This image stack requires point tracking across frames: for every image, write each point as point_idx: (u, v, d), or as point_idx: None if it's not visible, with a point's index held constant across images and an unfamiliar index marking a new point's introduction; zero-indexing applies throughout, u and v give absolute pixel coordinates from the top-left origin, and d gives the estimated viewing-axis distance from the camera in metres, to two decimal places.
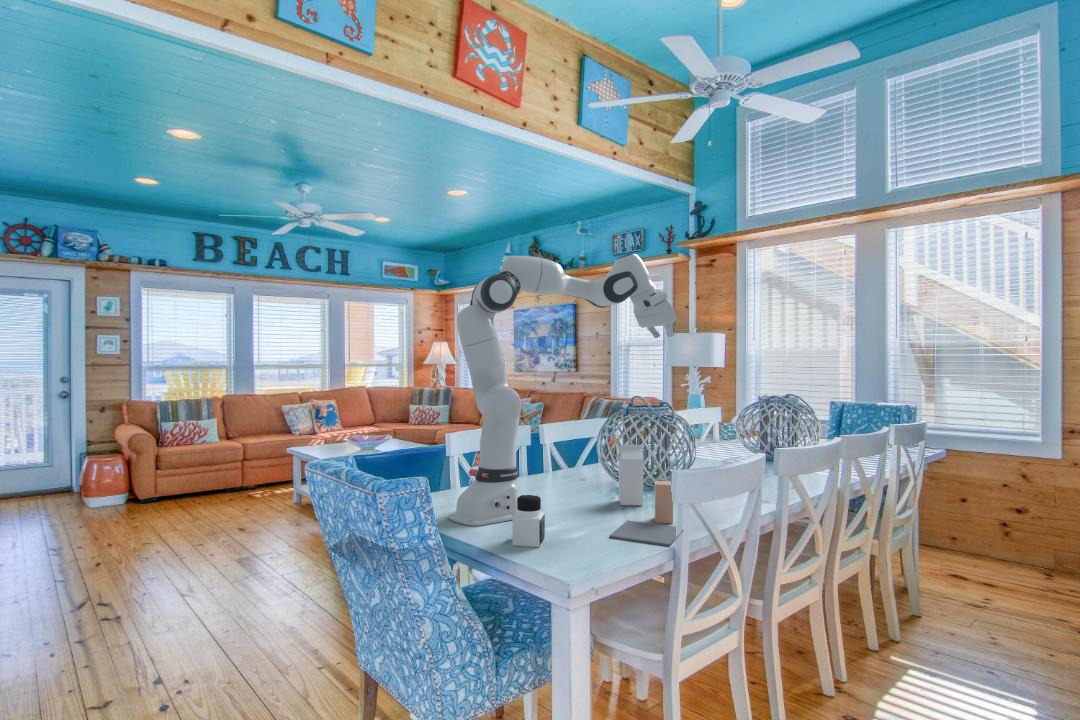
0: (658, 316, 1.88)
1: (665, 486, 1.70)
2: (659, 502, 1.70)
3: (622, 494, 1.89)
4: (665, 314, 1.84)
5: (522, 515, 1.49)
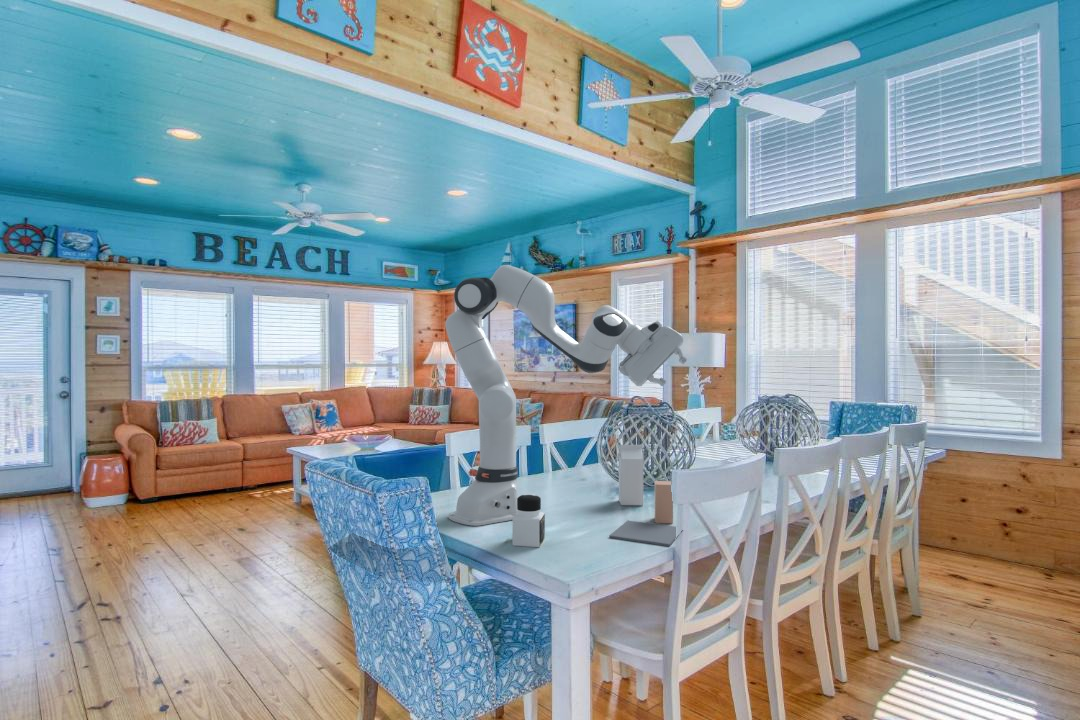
0: (667, 339, 1.75)
1: (665, 486, 1.70)
2: (659, 502, 1.70)
3: (622, 494, 1.89)
4: None
5: (522, 515, 1.49)
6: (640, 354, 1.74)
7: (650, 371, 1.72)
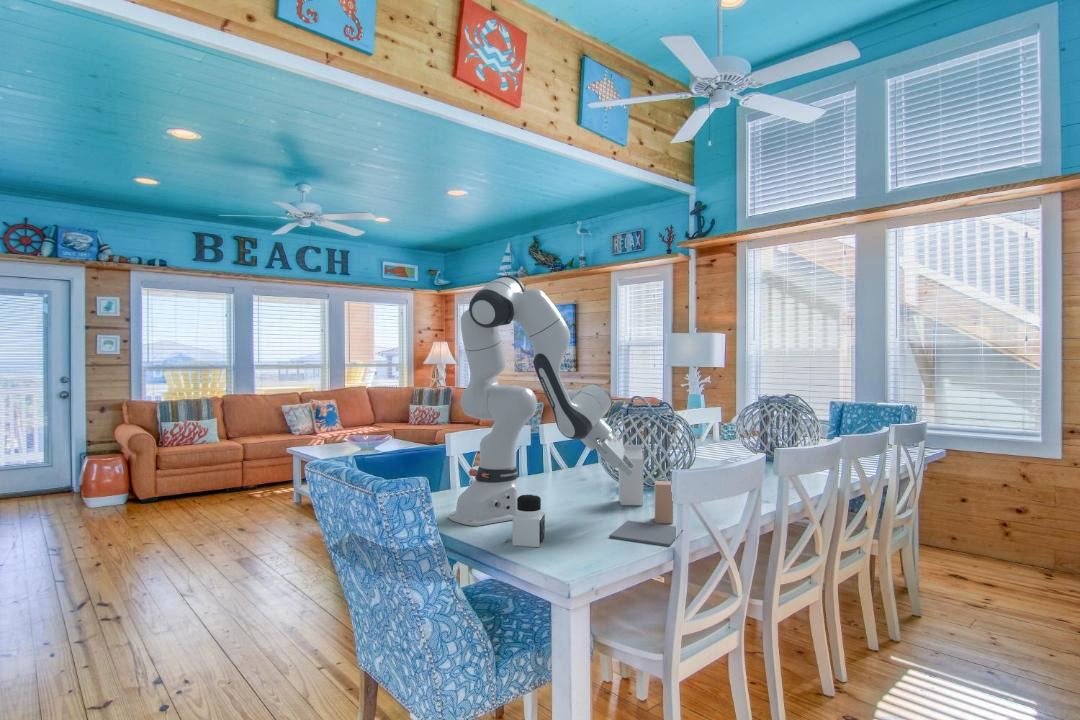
0: (617, 443, 1.79)
1: (665, 486, 1.70)
2: (659, 502, 1.70)
3: (622, 494, 1.89)
4: None
5: (522, 515, 1.49)
6: (609, 441, 1.71)
7: (622, 456, 1.68)
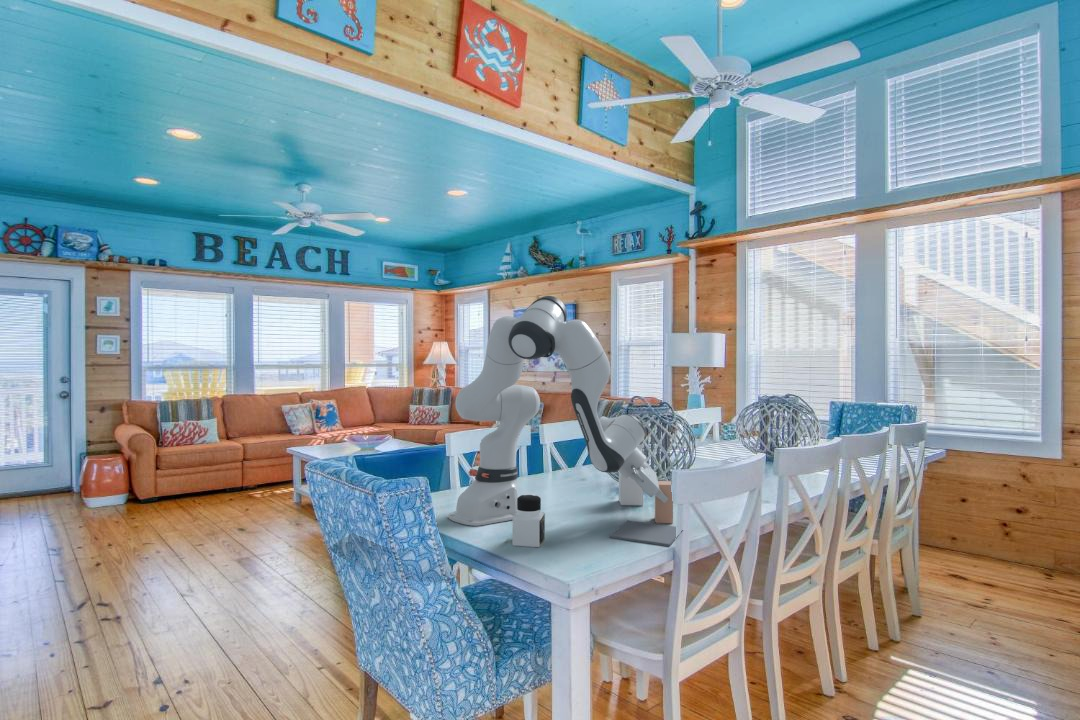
0: (649, 469, 1.79)
1: (665, 486, 1.70)
2: (659, 502, 1.70)
3: (622, 494, 1.89)
4: None
5: (522, 515, 1.49)
6: (644, 468, 1.70)
7: (658, 484, 1.67)
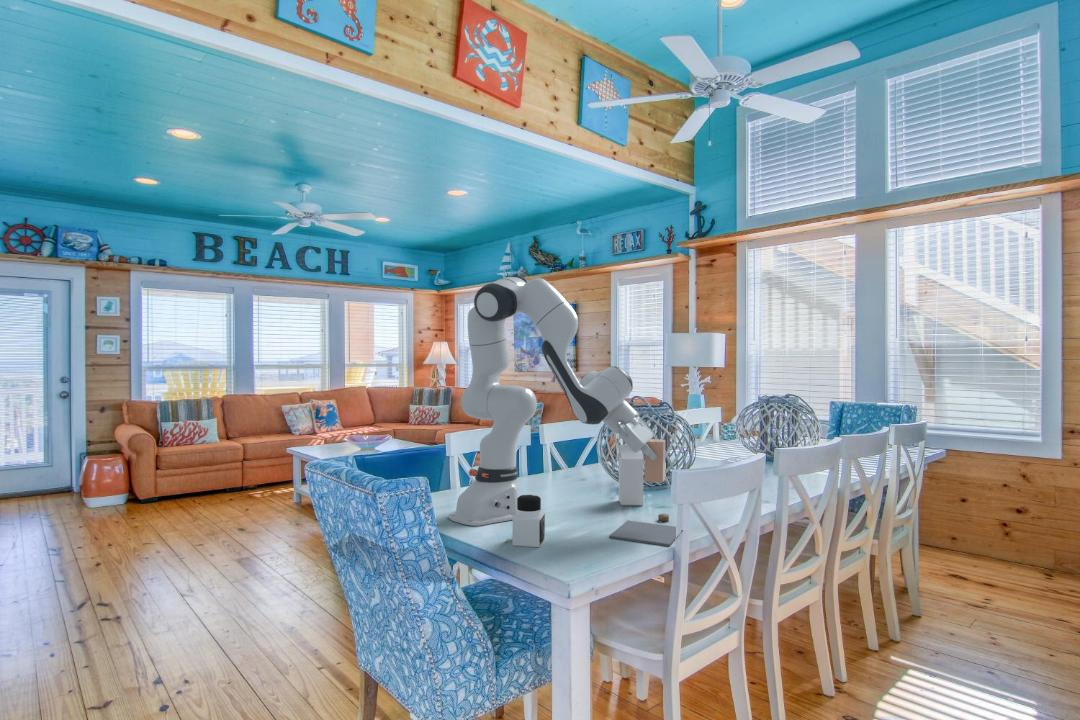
0: (644, 428, 1.71)
1: (655, 443, 1.62)
2: (649, 460, 1.62)
3: (622, 494, 1.89)
4: None
5: (522, 515, 1.49)
6: (633, 424, 1.63)
7: (646, 441, 1.60)
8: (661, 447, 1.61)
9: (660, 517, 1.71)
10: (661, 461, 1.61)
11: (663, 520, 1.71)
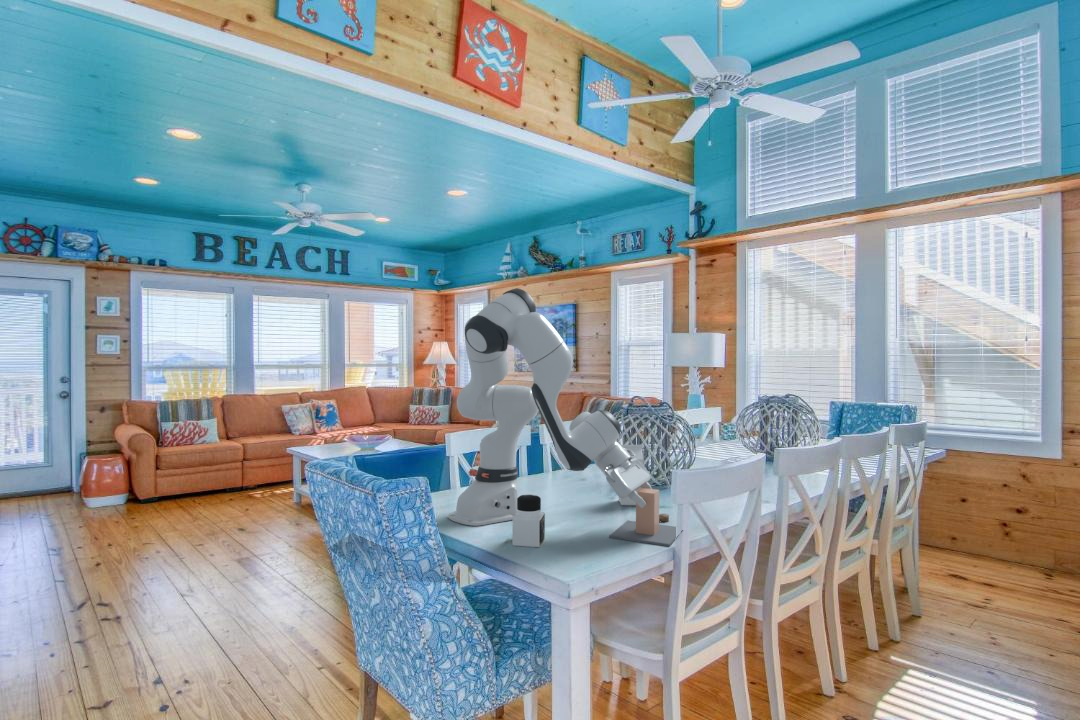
0: (640, 470, 1.66)
1: (646, 494, 1.57)
2: (640, 511, 1.58)
3: None
4: None
5: (522, 515, 1.49)
6: (623, 468, 1.59)
7: (635, 486, 1.56)
8: (652, 498, 1.56)
9: (660, 517, 1.71)
10: (652, 513, 1.56)
11: (663, 520, 1.71)
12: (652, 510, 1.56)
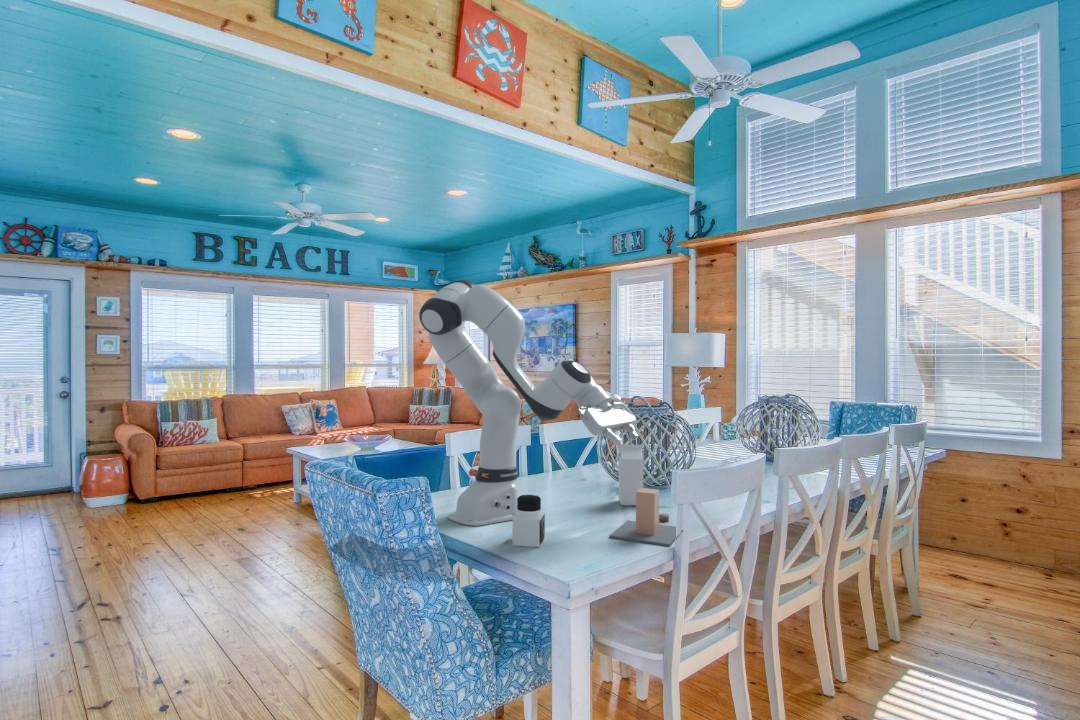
0: (624, 413, 1.71)
1: (646, 494, 1.57)
2: (640, 511, 1.58)
3: (622, 494, 1.89)
4: None
5: (522, 515, 1.49)
6: (601, 409, 1.65)
7: (609, 424, 1.61)
8: (652, 498, 1.56)
9: (660, 517, 1.71)
10: (652, 513, 1.56)
11: (663, 520, 1.71)
12: (652, 510, 1.56)
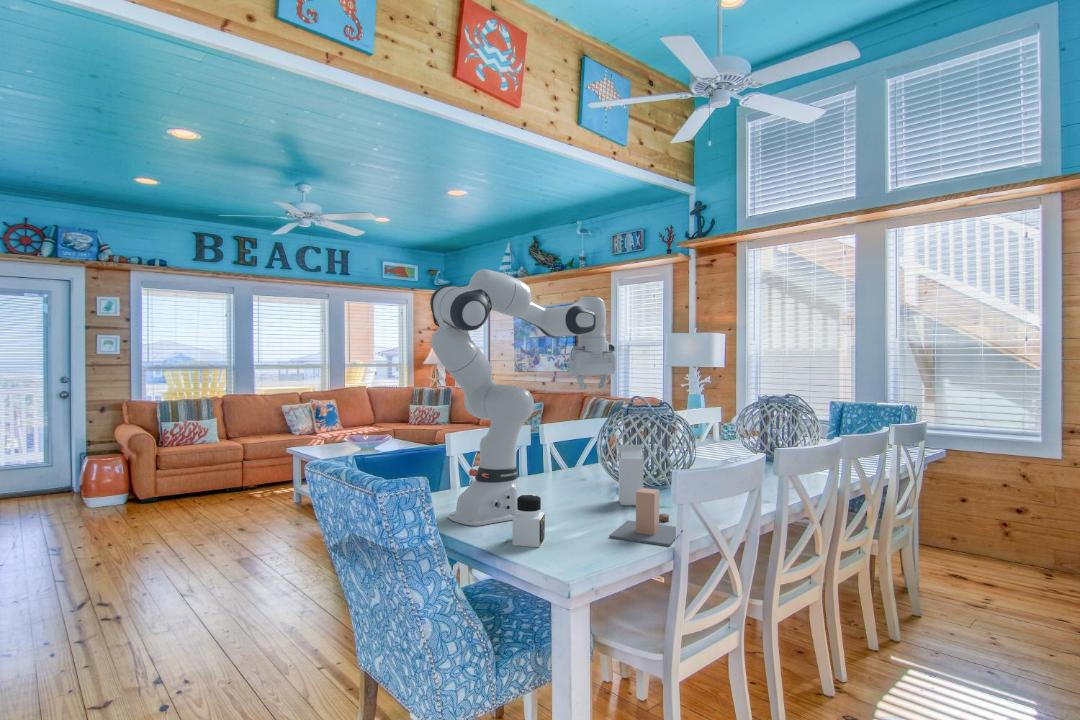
0: (608, 364, 1.95)
1: (646, 494, 1.57)
2: (640, 511, 1.58)
3: (622, 494, 1.89)
4: None
5: (522, 515, 1.49)
6: (590, 356, 1.89)
7: (586, 373, 1.87)
8: (652, 498, 1.56)
9: (660, 517, 1.71)
10: (652, 513, 1.56)
11: (663, 520, 1.71)
12: (652, 510, 1.56)
